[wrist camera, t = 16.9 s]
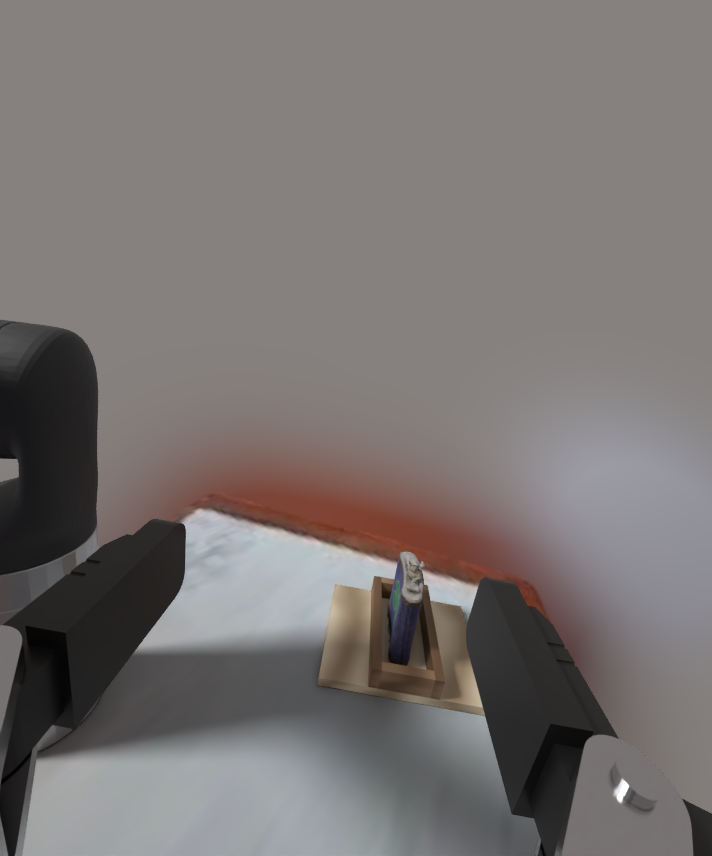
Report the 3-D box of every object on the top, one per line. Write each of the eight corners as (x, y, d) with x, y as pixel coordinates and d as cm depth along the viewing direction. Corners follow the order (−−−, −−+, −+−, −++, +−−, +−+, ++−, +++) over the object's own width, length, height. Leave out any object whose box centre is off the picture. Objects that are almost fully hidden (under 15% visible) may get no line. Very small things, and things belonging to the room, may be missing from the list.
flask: (386, 604, 48) (401, 536, 45) (407, 608, 48) (424, 541, 45) (386, 667, 39) (405, 588, 36) (412, 672, 39) (433, 593, 36)
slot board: (317, 684, 37) (321, 659, 36) (334, 590, 51) (337, 569, 50) (487, 716, 37) (496, 691, 36) (459, 612, 50) (464, 592, 49)
